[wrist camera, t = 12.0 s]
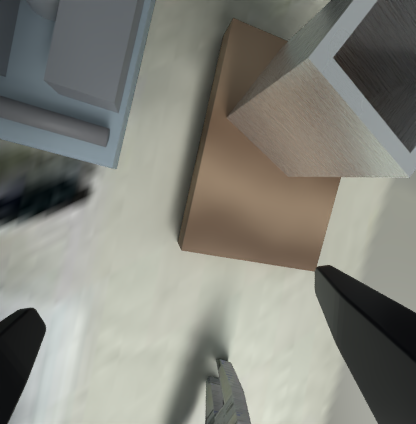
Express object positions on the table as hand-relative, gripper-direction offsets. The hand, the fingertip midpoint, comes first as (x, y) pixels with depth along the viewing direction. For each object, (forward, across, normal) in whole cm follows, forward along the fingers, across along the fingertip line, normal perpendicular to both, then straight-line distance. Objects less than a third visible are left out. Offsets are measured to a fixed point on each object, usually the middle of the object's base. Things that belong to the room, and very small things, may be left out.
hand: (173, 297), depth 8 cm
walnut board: (+12, -6, 0) cm, 13 cm away
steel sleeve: (+11, -7, -4) cm, 13 cm away
